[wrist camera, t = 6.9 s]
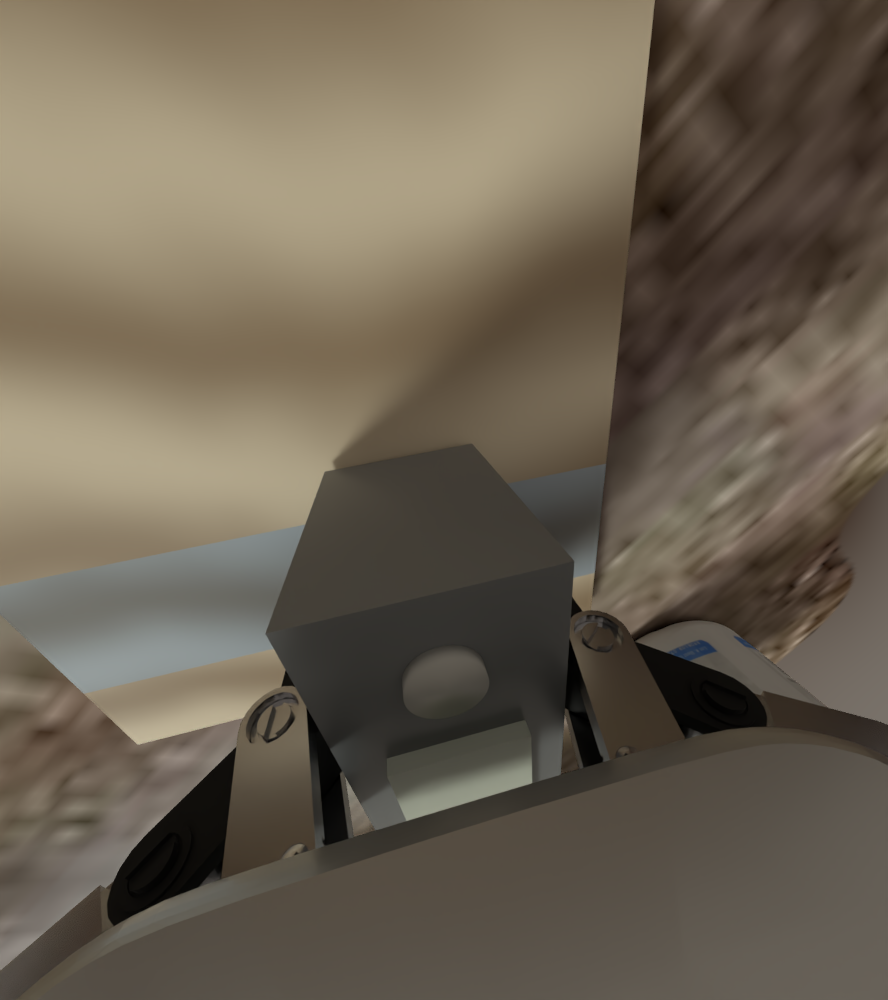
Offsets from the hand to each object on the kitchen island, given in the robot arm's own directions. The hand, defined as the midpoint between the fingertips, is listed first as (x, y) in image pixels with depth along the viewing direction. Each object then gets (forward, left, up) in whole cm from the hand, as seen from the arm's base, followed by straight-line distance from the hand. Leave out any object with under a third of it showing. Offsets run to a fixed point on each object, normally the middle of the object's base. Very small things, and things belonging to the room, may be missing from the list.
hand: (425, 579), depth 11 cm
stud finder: (0, 0, -1) cm, 1 cm away
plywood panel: (-4, -3, -2) cm, 5 cm away
